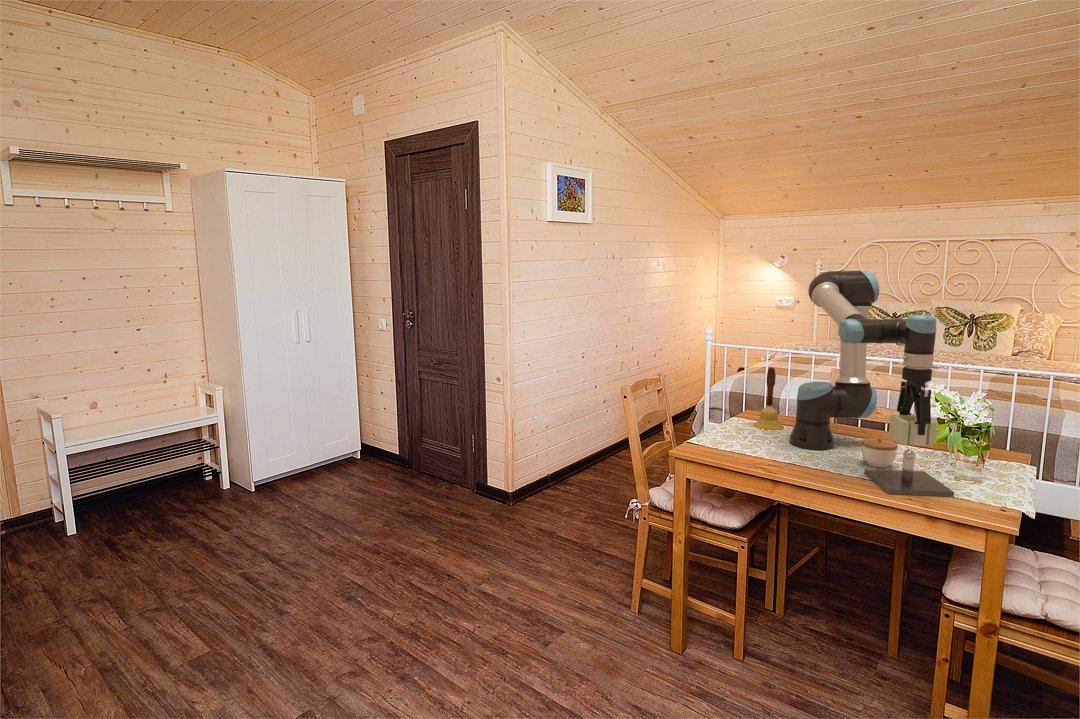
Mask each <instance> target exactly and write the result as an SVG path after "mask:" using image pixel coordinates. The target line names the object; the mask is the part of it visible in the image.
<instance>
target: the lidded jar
mask: <svg viewBox="0 0 1080 719" xmlns="http://www.w3.org/2000/svg"><path fill="white" fill-rule="evenodd" d="M898 448H899V447H898V443H897V442H896V441H895V442H894V441H891V440H888V439H883V438H882V437H877V438H875V437H873V438H872V437H870V438H863V439H862V440H861V448H860V450H861V455H862V457H863V460H864V461H865V462H866V463H867V465H868V466H871V467H873V468H874V467H875V468H883V469H885V468H888V467H889V465H891V464H892V463H893V462H894V461H895V460H896V457H897V452H898Z"/></svg>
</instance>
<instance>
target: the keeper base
mask: <svg viewBox="0 0 1080 719" xmlns="http://www.w3.org/2000/svg"><path fill="white" fill-rule="evenodd" d="M915 459H916V452H915V451H913V450H912V449H905V450H904V452H903V453H902V466H901V467H902V468H901V470H896V469H895V470H894V469H892V470H891V469H870V468H869V469H868V468H867V469H865V468H864V472H863V474H864V475H865V476H866V477H867V478H869V480H871V481H872V482H873V483H874V484H875V485H877V487H878V488H879V489H881V490H883V492H884V493H886V494H887V495H899V496H920V497H921V496H922V497H925V496H926V497H941V498H942V497H944V498H945V497H946V498H947V497H948V498H950V497H951V498H955V496H954V495H955V492H954V491H953V490H952V489H950V488H949V487H948V486H946V485H945V484H943V483H942V482H940V481H938V480H937V479H936V478H934V477H933V476H931V475H930V474H929V473H927V472H926V471H923V470H914V468H915V461H916V460H915Z"/></svg>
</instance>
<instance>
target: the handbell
mask: <svg viewBox="0 0 1080 719" xmlns="http://www.w3.org/2000/svg"><path fill="white" fill-rule="evenodd" d="M776 377H777V376H776V369H775V367H773V366H772V367H768V369H767V374H766V385H767V394H766V395H767V397H766V398H767V399H766V405H765V407H764V408H762V409H761V410H760V418H759V419H758V421H756V422H754V423H753V424H752V427H753V426H754V427H756V428H755V429H757V428H760V429H764V430H763V431H767V430H780V431H783V430H785V427H784V425H782V423H780V421H779V419H778V411H777V410H776V409H775V408H774V407H773V399H774V387H775V385H776ZM754 427H753V428H754ZM760 429H759V430H760ZM782 429H783V430H782Z"/></svg>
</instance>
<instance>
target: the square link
mask: <svg viewBox="0 0 1080 719" xmlns="http://www.w3.org/2000/svg"><path fill="white" fill-rule="evenodd" d="M914 422H917V420H916V415H900V414H898V415H897V414H890V416H889V426H888V427H889V428H888V437H889V438H890V439H892V440H893V441H895V443H897V444H899V445H900V446H908V445H909V446H914V445H913V439H914V429H915V424H914ZM936 428H937V422H936V421H934V420H931V423H930V424H926V429H925V440H924V445H919V446H923V447H924V446H925V447H926V446H928V447H934V446H935V441H936V440H935V438H936V431H937V430H936Z"/></svg>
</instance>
